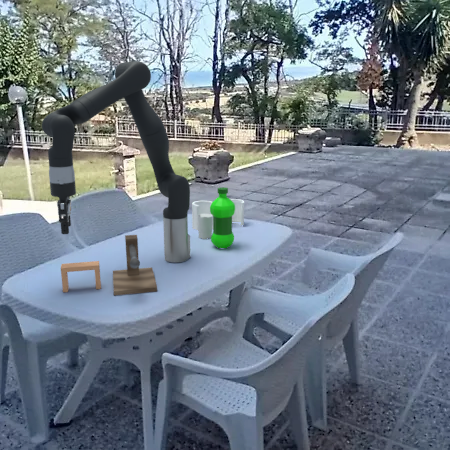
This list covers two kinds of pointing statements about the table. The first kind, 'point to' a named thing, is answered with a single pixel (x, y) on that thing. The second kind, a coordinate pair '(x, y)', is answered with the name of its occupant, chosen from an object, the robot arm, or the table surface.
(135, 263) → the hook stand
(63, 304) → the table surface
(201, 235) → the drinking glass
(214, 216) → the plastic bottle
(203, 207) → the white caddy
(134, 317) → the table surface
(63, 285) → the wooden staple shape
